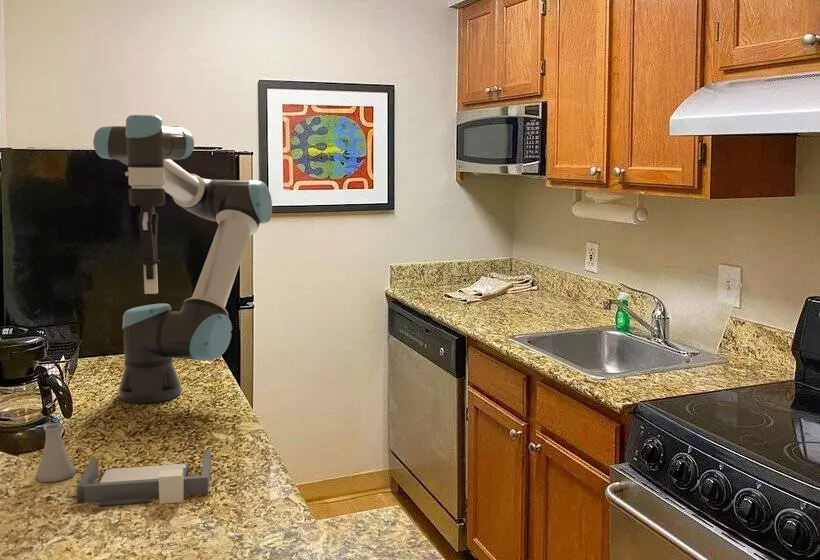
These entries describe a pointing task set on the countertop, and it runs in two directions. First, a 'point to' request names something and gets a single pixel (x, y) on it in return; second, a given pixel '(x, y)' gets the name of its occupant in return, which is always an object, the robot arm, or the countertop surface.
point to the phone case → (139, 472)
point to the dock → (143, 486)
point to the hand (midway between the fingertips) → (151, 293)
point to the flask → (54, 457)
